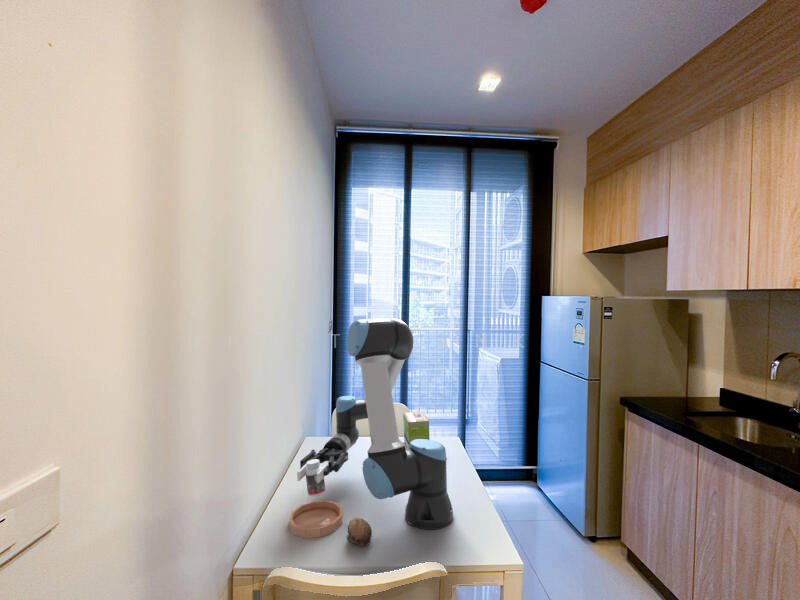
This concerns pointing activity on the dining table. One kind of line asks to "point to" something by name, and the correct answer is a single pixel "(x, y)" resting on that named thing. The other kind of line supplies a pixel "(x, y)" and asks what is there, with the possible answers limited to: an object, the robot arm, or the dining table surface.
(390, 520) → the dining table surface
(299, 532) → the bowl
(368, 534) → the mushroom
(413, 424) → the tea box
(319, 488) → the pill bottle
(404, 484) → the robot arm
